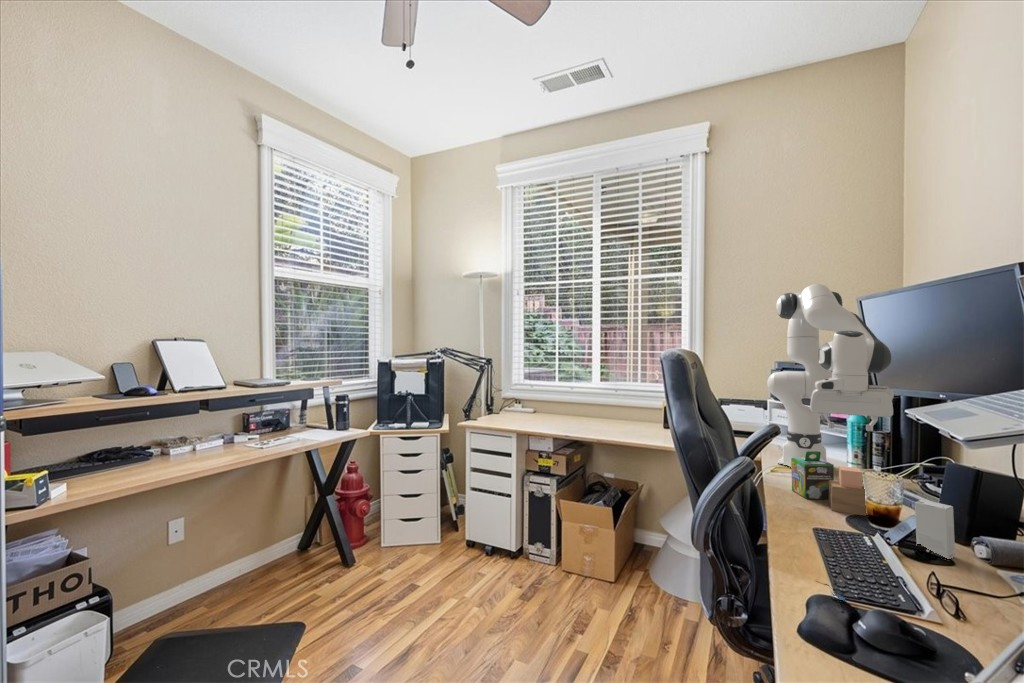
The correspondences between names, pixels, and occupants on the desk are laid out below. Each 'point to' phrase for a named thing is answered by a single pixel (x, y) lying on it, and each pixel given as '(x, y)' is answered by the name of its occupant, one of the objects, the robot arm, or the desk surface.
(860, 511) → the block
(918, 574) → the desk surface
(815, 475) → the chalk box
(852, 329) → the robot arm
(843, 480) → the cube
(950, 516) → the skincare box
